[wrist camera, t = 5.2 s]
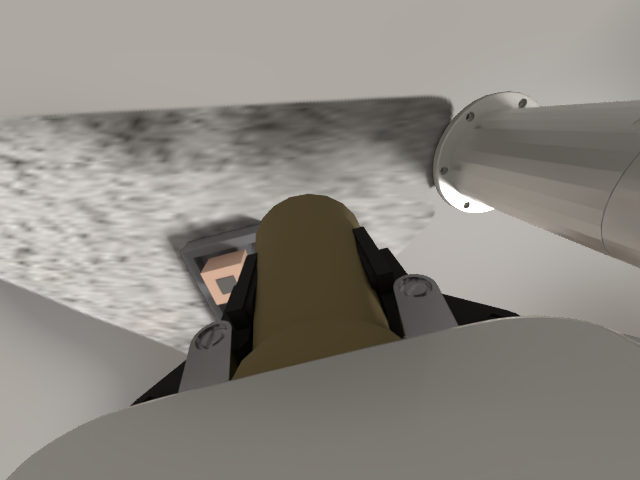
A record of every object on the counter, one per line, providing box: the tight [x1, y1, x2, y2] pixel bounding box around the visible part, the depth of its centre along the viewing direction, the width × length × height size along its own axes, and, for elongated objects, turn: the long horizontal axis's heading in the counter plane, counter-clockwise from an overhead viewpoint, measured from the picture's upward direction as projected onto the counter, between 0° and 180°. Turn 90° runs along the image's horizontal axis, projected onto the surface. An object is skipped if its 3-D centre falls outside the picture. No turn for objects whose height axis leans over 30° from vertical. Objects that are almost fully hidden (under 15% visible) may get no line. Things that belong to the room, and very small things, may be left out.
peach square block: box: [200, 249, 247, 305], centre depth 26 cm, size 4×4×3 cm
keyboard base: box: [180, 224, 260, 321], centre depth 31 cm, size 9×19×2 cm, turn 13°
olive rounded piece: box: [232, 194, 401, 380], centre depth 9 cm, size 6×6×11 cm
